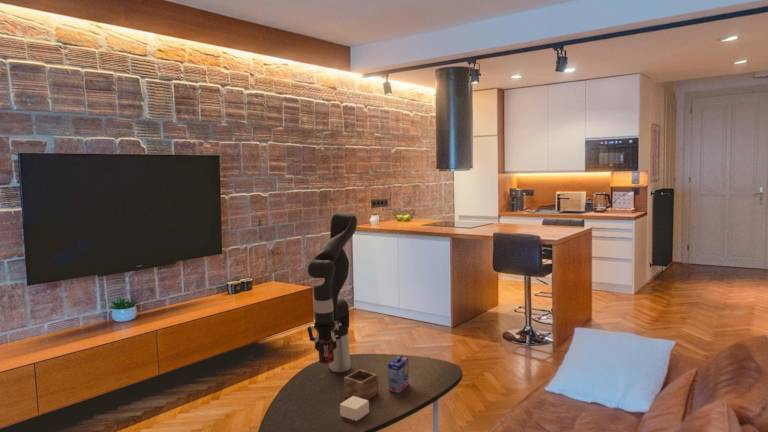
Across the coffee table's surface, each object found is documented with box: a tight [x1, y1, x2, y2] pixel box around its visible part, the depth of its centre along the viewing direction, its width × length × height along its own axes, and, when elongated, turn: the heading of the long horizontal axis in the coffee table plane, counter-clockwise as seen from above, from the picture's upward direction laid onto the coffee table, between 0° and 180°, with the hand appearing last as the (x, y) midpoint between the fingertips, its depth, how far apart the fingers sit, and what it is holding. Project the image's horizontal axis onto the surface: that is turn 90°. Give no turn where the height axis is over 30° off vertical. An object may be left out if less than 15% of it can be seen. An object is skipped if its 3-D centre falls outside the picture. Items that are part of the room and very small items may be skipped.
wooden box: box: [343, 368, 380, 401], centre depth 222 cm, size 10×10×8 cm
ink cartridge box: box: [387, 354, 409, 394], centre depth 227 cm, size 10×6×14 cm, turn 152°
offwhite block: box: [339, 396, 370, 422], centre depth 207 cm, size 8×8×5 cm
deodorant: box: [318, 325, 334, 365], centre depth 213 cm, size 6×6×15 cm
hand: (326, 349), depth 213 cm, fingers closed on deodorant, 6 cm apart
